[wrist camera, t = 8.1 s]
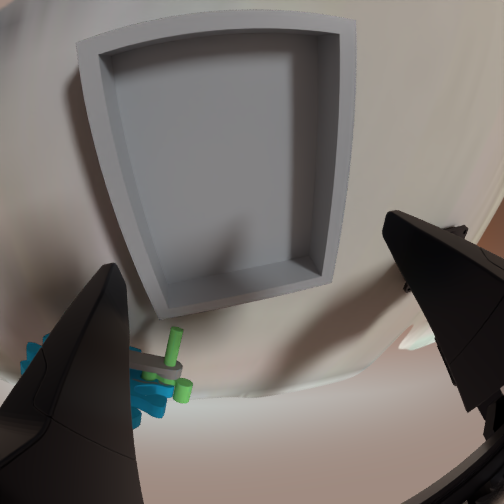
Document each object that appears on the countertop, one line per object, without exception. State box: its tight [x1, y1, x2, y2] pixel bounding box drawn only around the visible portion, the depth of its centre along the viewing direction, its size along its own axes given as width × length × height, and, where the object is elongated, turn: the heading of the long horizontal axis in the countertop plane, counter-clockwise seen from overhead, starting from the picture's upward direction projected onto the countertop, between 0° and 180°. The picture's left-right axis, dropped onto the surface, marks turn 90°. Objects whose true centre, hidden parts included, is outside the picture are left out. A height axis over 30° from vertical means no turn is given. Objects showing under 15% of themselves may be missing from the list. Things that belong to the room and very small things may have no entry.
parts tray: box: [76, 10, 356, 320], centre depth 12 cm, size 11×15×2 cm
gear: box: [20, 327, 193, 429], centre depth 14 cm, size 11×6×10 cm
